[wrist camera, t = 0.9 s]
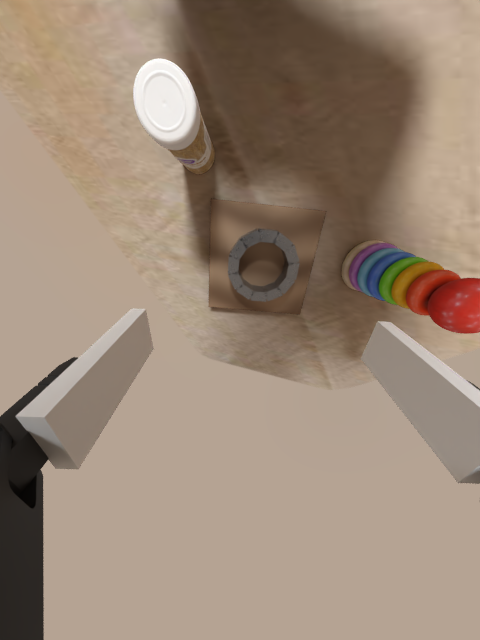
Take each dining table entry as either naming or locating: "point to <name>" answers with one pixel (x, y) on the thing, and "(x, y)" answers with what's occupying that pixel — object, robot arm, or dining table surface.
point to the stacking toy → (414, 285)
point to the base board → (260, 252)
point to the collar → (281, 282)
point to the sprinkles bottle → (173, 114)
